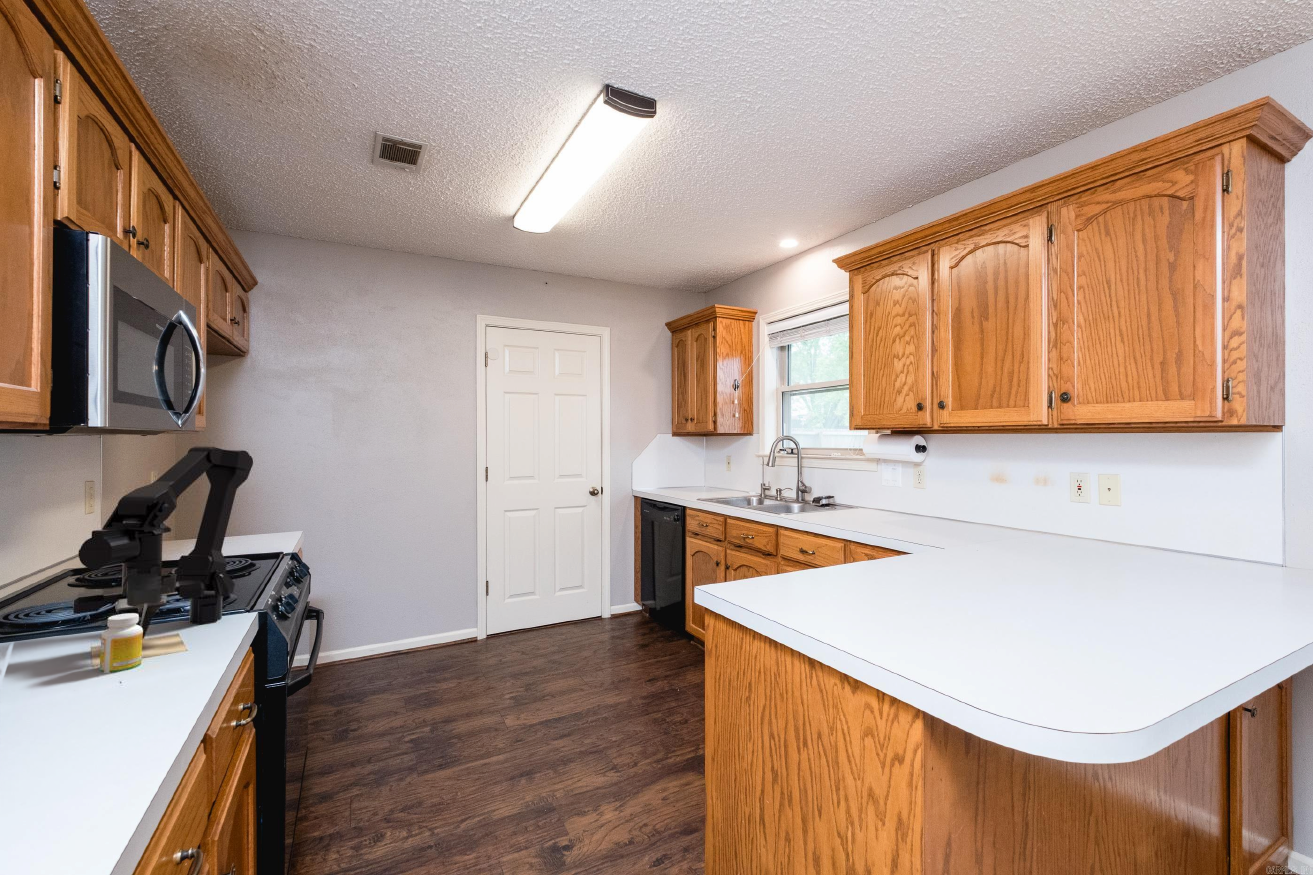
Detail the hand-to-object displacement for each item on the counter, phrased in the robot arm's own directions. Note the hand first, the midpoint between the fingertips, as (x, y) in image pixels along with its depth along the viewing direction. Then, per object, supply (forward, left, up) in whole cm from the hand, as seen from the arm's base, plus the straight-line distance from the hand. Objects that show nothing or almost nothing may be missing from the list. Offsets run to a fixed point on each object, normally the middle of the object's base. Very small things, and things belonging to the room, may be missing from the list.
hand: (140, 640), depth 113 cm
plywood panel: (+2, 0, -2) cm, 3 cm away
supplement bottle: (+12, -3, -2) cm, 13 cm away
